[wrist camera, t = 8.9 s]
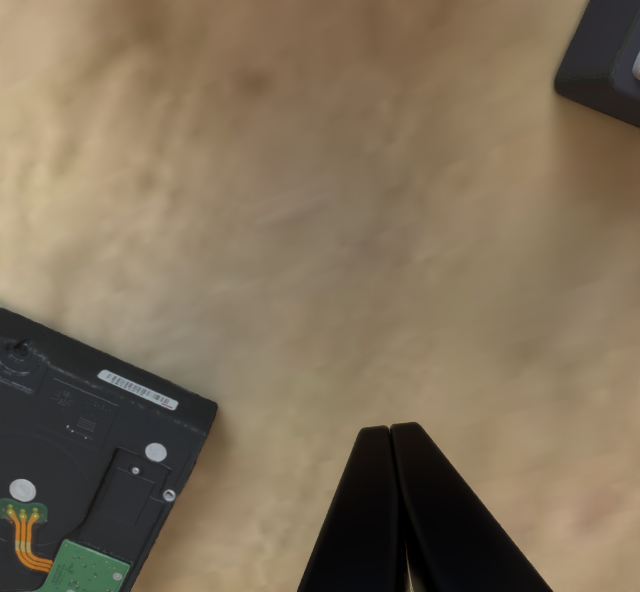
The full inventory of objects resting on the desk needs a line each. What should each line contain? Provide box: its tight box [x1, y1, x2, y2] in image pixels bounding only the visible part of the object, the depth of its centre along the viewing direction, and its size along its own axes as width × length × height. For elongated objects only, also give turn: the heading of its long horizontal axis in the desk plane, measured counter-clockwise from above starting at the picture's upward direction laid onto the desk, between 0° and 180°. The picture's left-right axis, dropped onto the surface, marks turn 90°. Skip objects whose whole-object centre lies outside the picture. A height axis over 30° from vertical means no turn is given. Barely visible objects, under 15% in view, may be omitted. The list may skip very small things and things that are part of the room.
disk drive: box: [0, 308, 218, 592], centre depth 22 cm, size 10×3×15 cm
